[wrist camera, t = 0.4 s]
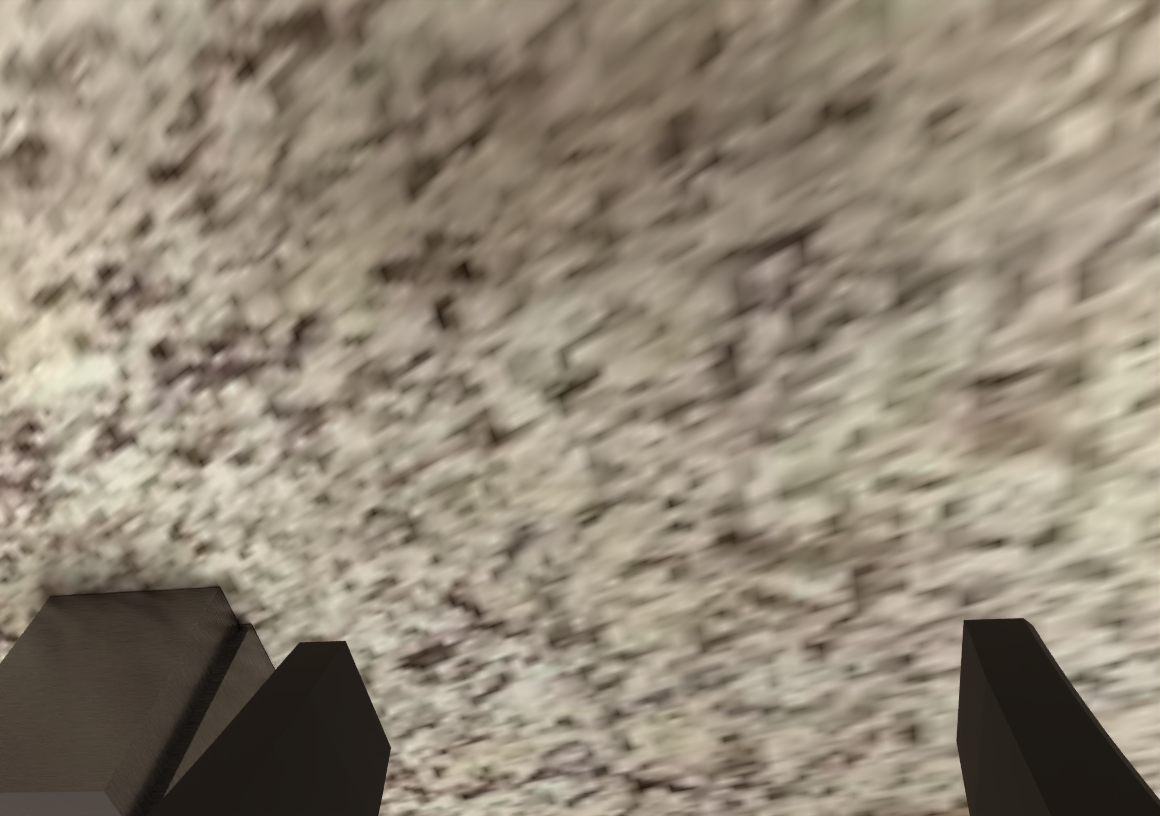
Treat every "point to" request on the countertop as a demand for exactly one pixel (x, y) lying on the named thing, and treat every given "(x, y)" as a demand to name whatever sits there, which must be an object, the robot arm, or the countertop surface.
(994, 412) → the countertop surface
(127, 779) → the socket
